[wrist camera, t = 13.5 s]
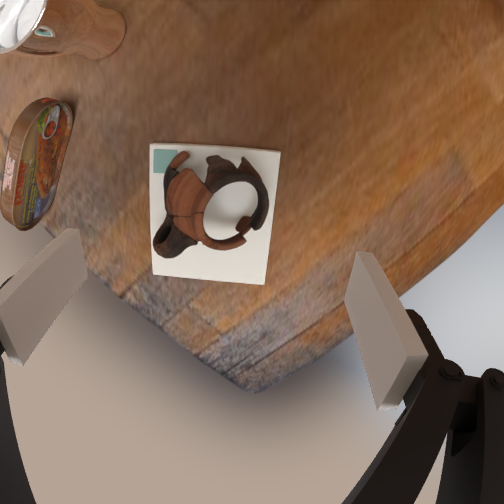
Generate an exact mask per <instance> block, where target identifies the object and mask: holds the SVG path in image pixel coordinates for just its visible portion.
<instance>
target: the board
mask: <svg viewBox="0 0 504 504" xmlns="http://www.w3.org/2000/svg"><path fill="white" fill-rule="evenodd" d="M181 151H186V152H188V153H189V154H190V157H189V158H188V159H187V160H185V161H184V162H183V163H182V164H181V165H180V166H179V167H178V168H177V169H176V171H178V172H179V173H180V172H181V171H182V170H183V169H185V168H191V169H193V171H194V173H195V174H196V175H197V177H198V178H199V179H200V180H201V181H202V182H203V183H205V180H206V176H207V168H208V166H209V165H208V164H207V162H206V158H207V157H208V156H213V155H219V156H220V157H222V158H223V159H227V160H229V161H231V162H232V163H234V165H235V166H236V168H238V167H239V165H240V163H241V158H242V157H243V156H244V157H245V158H246V159H247V160H248V161H249V162H250V164H251V165H252V166H253V167H254V169H255V170H256V171H257V172H258V174H259V175H260V177H261V178H262V182H263V183H264V185H265V187H266V189H267V191H268V198H269V210H268V214H267V217H266V220H265V222H264V224H263V226H262V227H261V228H260V229H259V230H256V231H254V230H253V229H252V228H251V229H250V230H249V231H248V232H247V233H246V234H245V235H244V236H243V237H244V238H245V239H246V241H247V242H246V243H245V244H243V245H242V246H239V247H237V248H235V249H231V250H226V251H221V250H214V249H212V248H209V247H207V246H205V245H203V244H202V242H201V241H200V242H198V244H197V245H193V246H190V247H188V248H186V249H185V250H184V251H183V252H182V253H181V254H180V255H178V256H177V257H175V258H169V259H166V258H163V257H161V256H159V255H158V254H157V253H156V252H155V251H154V247H153V239H154V236H155V234H156V232H157V231H158V229H159V228H160V226H161V225H162V224H163V222H164V220H165V217H166V214H167V212H166V210H165V202H164V187H163V179H164V174H165V171H166V169H167V167H168V165H169V164H170V162H171V161H172V159H173V158H174V157H175V156H176V155H177V154H179V153H180V152H181ZM280 155H281V152H280V151H276V150H267V149H256V148H245V147H233V146H219V145H203V144H181V143H152V144H150V226H151V249H152V266H153V274H155V275H164V276H174V277H184V278H194V279H204V280H215V281H226V282H237V283H249V284H261V285H264V283H265V275H266V268H267V260H268V252H269V244H270V237H271V229H272V221H273V213H274V205H275V196H276V188H277V180H278V172H279V163H280ZM257 204H258V195H257V191H256V190H255V188H254V187H253V186H252V185H251V184H249V183H247V182H234V183H231V184H228V185H226V186H224V187H222V188H221V189H219V190H218V191H217V192H216V193H214V195H213V197H212V198H211V199H210V201H209V202H208V204H207V206H206V209H205V211H204V217H203V224H204V229H205V231H206V233H207V234H208V236H209V237H211V238H213V239H217V240H223V239H227V238H230V237H232V236H235V235H236V234H238V233H239V232H237V231H236V229H235V227H236V225H237V223H238V221H239V220H240V219H241V217H243V216H249V217H251V216H252V214H253V213H254V211H255V209H256V207H257Z"/></svg>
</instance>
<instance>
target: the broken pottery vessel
mask: <svg viewBox="0 0 504 504" xmlns="http://www.w3.org/2000/svg"><path fill="white" fill-rule="evenodd" d="M189 157H190V154H189V153H188V152H186V151H181V152H180V153H179V154H177V155H176V156H175V157H174V158H173V159H172V161H171V162H170V164H169V165H168V167H167V169H166V171H165V174H164V179H163V187H164V202H165V210H166V212H167V214H166V217H165V220H164V222H163V224H162V225H161V226H160V228H159V229H158V231H157V232H156V234H155V236H154V239H153V247H154V251H155V252H156V253H157V254H158V255H159V256H161V257H163V258H166V259H169V258H175V257H177V256H178V255H180V254H181V253H182V252H183V251H184V250H185V249H186V248H188V247H190V246H193V245H197V244H198V242H200V241H201V242H202V244H203V245H205V246H207V247H209V248H212V249H214V250H221V251H226V250H231V249H235V248H237V247H239V246H242V245H243V244H245V243H246V242H247V241H246V239H245V238H244V237H243V236H244V235H245V234H246V233H247V232H248V231H249V230H250V229H251V228H252V229H253V230H254V231H256V230H259V229H260V228H261V227H262V226H263V224H264V222H265V220H266V217H267V214H268V210H269V198H268V191H267V189H266V187H265V185H264V183H263V182H262V178H261V177H260V175H259V174H258V172H257V171H256V170H255V169H254V167H253V166H252V165H251V164H250V162H249V161H248V160H247V159H246V158H245V157H244V156H243V157H242V158H241V163H240V165H239V167H238V168H236V166H235V165H234V163H232V162H231V161H229V160H227V159H223V158H222V157H220V156H219V155H213V156H208V157H207V158H206V162H207V164H208V165H209V166H208V168H207V176H206V180H205V183H203V182H202V181H201V180H200V179H199V178H198V177H197V175H196V174H195V173H194V171H193V169H191V168H185V169H183V170H182V171H181V172H180V173H179V172H178V171H176V169H177V168H178V167H179V166H180V165H181V164H182V163H183V162H184V161H185V160H187V159H188V158H189ZM234 182H247V183H249V184H251V185H252V186H253V187H254V188H255V190H256V191H257V195H258V204H257V207H256V209H255V211H254V213H253V214H252V216H251V217H249V216H243V217H241V219H240V220H239V221H238V223H237V225H236V227H235V229H236V231H237V232H239V233H238V234H236V235H235V236H232V237H230V238H227V239H223V240H217V239H213V238H211V237H209V236H208V234H207V233H206V231H205V229H204V224H203V217H204V211H205V209H206V206H207V204H208V202H209V201H210V199H211V198H212V197H213V195H214V193H216V192H217V191H218V190H219V189H221V188H222V187H224V186H226V185H228V184H231V183H234Z"/></svg>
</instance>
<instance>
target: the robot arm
mask: <svg viewBox="0 0 504 504" xmlns="http://www.w3.org/2000/svg"><path fill="white" fill-rule="evenodd" d="M87 278H88V276H87V270H86V265H85V260H84V254H83V249H82V243H81V237H80V230H79V229H72V228H67V229H65V230H64V231H63V232H62V233H61V234H60V235H58V236H57V237H56V238H55V239H54V240H53V241H51V242H50V243H49V244H48V245H47V246H46V247H45V248H43V249H42V250H41V251H40V252H39V253H38V254H37V255H36V256H35V257H33V258H32V259H31V260H30V261H29V262H28V263H27V264H26V265H25V266H24V267H23V268H22V269H21V270H20V271H18V272H17V273H16V274H15V275H14V276H12V277H10V278H9V279H7V281H5V282H4V283H3V284H2V286H1V287H0V504H36V502H35V499H34V497H33V494H32V491H31V488H30V485H29V482H28V479H27V476H26V473H25V469H24V466H23V462H22V459H21V455H20V452H19V447H18V443H17V439H16V435H15V431H14V426H13V421H12V417H11V411H10V405H9V399H8V393H7V386H6V378H5V370H4V362H3V359H2V357H1V355H2V353H3V352H4V350H5V352H6V354H7V356H8V358H9V360H10V361H11V362H14V363H16V364H20V365H22V366H23V365H24V364H25V362H26V361H27V359H28V358H29V356H30V355H31V353H32V352H33V350H34V349H35V347H36V346H37V345H38V343H39V342H40V340H41V339H42V337H43V336H44V335H45V333H46V332H47V330H48V329H49V328H50V326H51V325H52V323H53V322H54V320H55V319H56V318H57V316H58V315H59V314H60V313H61V311H62V310H63V309H64V307H65V306H66V305H67V303H68V302H69V300H70V299H71V298H72V297H73V296H74V294H75V293H76V292H77V290H78V289H79V288H80V286H81V285H82V284H83V283H84V282H85V280H86V279H87ZM344 303H345V306H346V309H347V312H348V315H349V318H350V321H351V324H352V327H353V330H354V333H355V336H356V340H357V343H358V346H359V349H360V352H361V356H362V359H363V362H364V365H365V369H366V372H367V376H368V379H369V383H370V386H371V390H372V393H373V397H374V401H375V404H376V408H377V410H378V411H380V410H391V409H397V407H398V406H399V404H400V402H401V401H402V399H403V400H404V403H405V406H406V408H405V410H404V411H403V413H402V414H401V416H400V417H399V418H398V420H397V421H396V423H395V426H394V428H393V430H392V432H391V433H390V435H389V436H388V438H387V440H386V441H385V443H384V445H383V446H382V448H381V449H380V451H379V452H378V454H377V455H376V457H375V458H374V460H373V461H372V463H371V465H370V466H369V467H368V469H367V470H366V472H365V473H364V475H363V476H362V477H361V479H360V480H359V481H358V483H357V484H356V486H355V487H354V488H353V490H352V491H351V492H350V494H349V495H348V496H347V497H346V499H345V500H344V501H343V503H342V504H414V502H415V500H416V498H417V497H418V495H419V493H420V491H421V489H422V487H423V485H424V483H425V481H426V479H427V477H428V475H429V473H430V471H431V469H432V467H433V464H434V462H435V460H436V458H437V455H438V453H439V451H440V449H441V446H442V444H443V441H444V439H445V437H446V434H447V441H446V450H445V456H444V463H443V469H442V475H441V481H440V486H439V491H438V495H437V500H436V504H504V373H503V372H502V371H500V370H498V369H495V368H490V369H487V370H486V371H485V372H484V373H483V375H482V376H481V378H479V377H473V376H467V375H465V374H464V372H463V370H462V369H461V367H460V366H459V365H458V364H456V363H455V362H453V361H451V360H448V359H444V356H443V355H442V353H441V351H440V349H439V347H438V346H437V344H436V342H435V340H434V338H433V336H432V335H431V332H430V331H429V329H428V328H427V325H426V324H425V322H424V320H423V318H422V317H421V316H420V315H418V313H416V312H415V311H414V310H411V309H404V307H403V305H402V303H401V301H400V300H399V298H398V296H397V294H396V292H395V291H394V289H393V287H392V285H391V284H390V282H389V280H388V278H387V277H386V275H385V273H384V272H383V270H382V268H381V267H380V265H379V263H378V262H377V260H376V258H375V257H374V255H373V253H372V252H363V251H356V256H355V260H354V264H353V268H352V272H351V276H350V279H349V283H348V287H347V291H346V295H345V298H344Z"/></svg>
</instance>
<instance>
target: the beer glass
mask: <svg viewBox="0 0 504 504" xmlns="http://www.w3.org/2000/svg"><path fill="white" fill-rule="evenodd" d="M125 30H126V25H125V21H124V18H123V17H122V15H121V14H120V13H119V12H117V11H115V10H113V9H108V8H101V7H99V6H98V5H97V4H96V3H95V2H94V1H93V0H0V54H7V55H13V56H20V57H29V58H47V57H56V56H62V55H67V54H74V53H77V54H80V55H82V56H83V57H85V58H87V59H91V60H97V59H102V58H105V57H107V56H109V55H110V54H112V53H113V52H114V51H115V50H116V49H117V48H118V47H119V45H120V44H121V42H122V40H123V38H124V35H125Z"/></svg>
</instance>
